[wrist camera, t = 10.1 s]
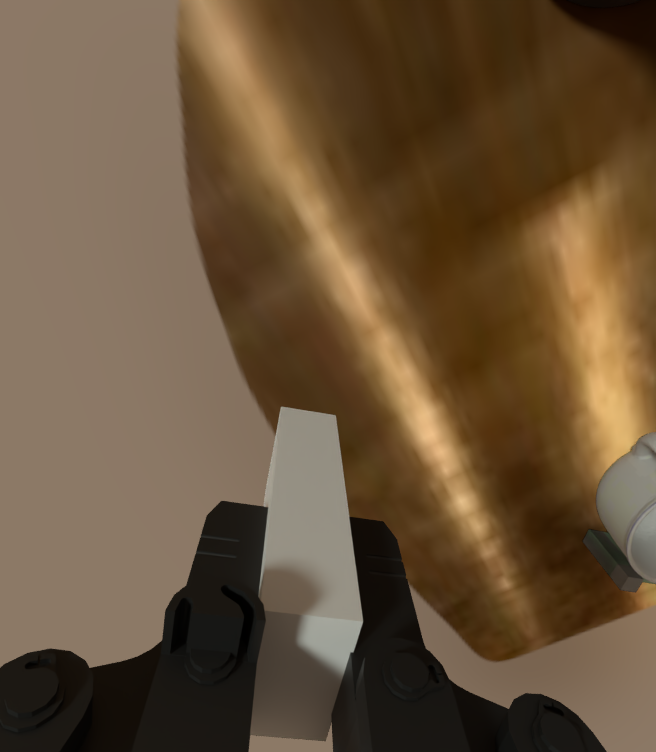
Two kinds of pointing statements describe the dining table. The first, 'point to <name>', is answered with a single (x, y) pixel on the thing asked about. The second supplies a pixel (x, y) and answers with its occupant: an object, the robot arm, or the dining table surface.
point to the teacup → (632, 505)
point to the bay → (613, 560)
